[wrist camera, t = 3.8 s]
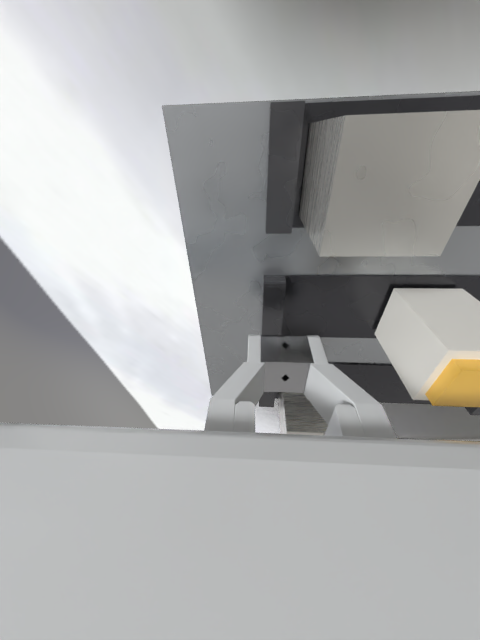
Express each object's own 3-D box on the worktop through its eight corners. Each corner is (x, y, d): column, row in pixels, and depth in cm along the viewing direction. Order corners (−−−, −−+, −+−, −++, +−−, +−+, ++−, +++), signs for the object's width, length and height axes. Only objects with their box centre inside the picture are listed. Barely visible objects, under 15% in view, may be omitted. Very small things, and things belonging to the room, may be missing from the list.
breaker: (462, 288, 11) (563, 364, 7) (433, 334, 12) (502, 414, 9) (393, 288, 11) (458, 362, 7) (374, 333, 13) (419, 411, 9)
